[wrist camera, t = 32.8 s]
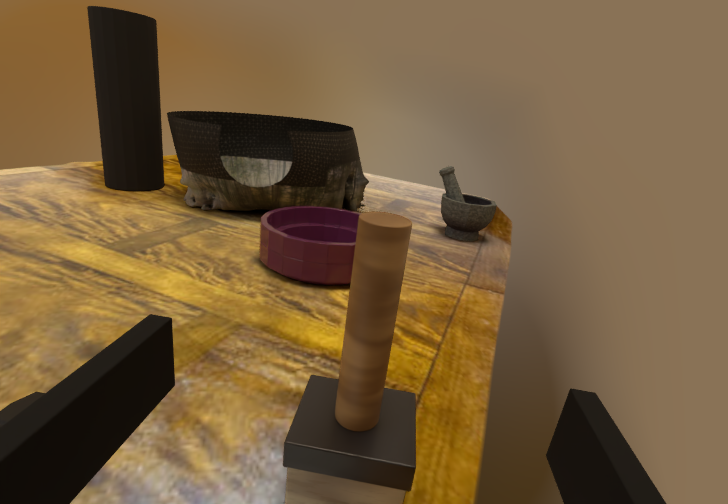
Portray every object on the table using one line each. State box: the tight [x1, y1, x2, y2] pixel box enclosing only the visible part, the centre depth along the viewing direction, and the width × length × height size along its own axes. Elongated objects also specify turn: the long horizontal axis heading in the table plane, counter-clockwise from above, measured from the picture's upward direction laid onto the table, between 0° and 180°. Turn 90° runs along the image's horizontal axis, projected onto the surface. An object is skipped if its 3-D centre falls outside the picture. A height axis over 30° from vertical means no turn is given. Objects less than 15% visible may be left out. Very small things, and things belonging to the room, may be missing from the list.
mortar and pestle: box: [439, 166, 497, 241], centre depth 73 cm, size 11×9×12 cm
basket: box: [167, 111, 369, 211], centre depth 75 cm, size 28×35×16 cm
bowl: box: [259, 206, 362, 285], centre depth 53 cm, size 17×17×6 cm
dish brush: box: [283, 212, 416, 504], centre depth 21 cm, size 6×5×16 cm
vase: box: [88, 6, 164, 191], centre depth 75 cm, size 10×10×30 cm
